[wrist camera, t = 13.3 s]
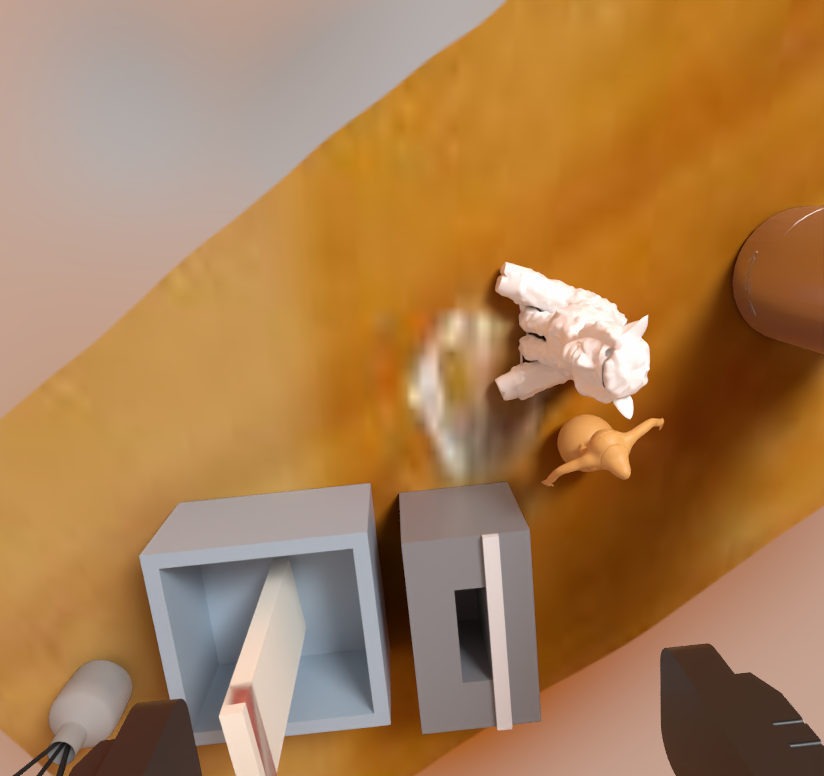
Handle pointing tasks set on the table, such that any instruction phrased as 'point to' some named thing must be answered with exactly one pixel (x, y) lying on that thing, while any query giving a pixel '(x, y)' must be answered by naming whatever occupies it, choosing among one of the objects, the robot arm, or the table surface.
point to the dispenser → (470, 607)
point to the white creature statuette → (572, 341)
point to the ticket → (265, 677)
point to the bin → (240, 591)
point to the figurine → (597, 446)
